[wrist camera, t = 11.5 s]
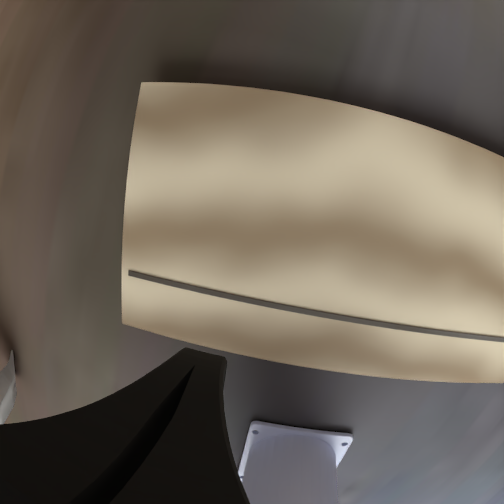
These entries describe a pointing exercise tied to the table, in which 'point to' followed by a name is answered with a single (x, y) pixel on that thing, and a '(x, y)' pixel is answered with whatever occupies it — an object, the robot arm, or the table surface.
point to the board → (313, 234)
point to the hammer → (7, 389)
